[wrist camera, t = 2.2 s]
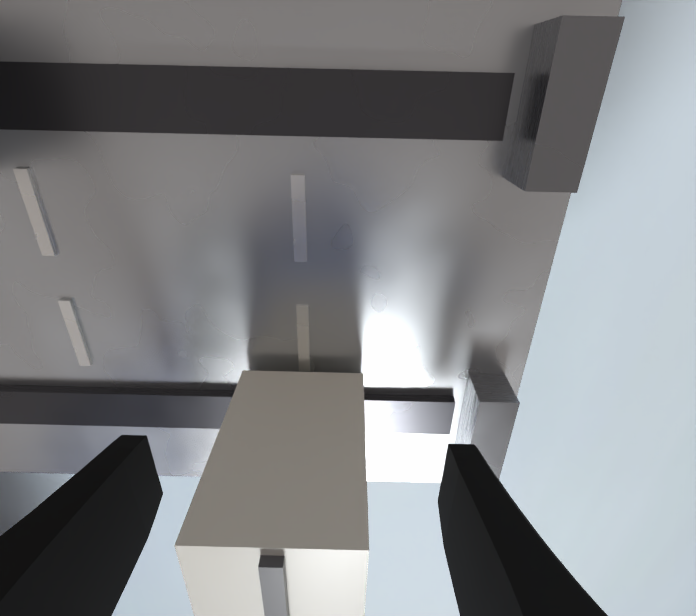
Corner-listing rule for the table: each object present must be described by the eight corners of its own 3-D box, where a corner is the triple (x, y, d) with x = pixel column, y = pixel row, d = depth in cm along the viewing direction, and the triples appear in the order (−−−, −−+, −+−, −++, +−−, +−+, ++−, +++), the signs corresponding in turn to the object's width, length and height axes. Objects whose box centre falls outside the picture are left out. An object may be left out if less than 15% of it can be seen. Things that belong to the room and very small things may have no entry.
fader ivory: (359, 459, 13) (362, 660, 8) (253, 457, 13) (199, 656, 8) (363, 373, 11) (369, 562, 7) (242, 370, 11) (169, 557, 7)
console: (483, 455, 15) (505, 517, 13) (-202, 438, 15) (-295, 497, 13) (607, -66, 8) (696, -118, 6) (-629, -93, 8) (-970, -154, 6)
